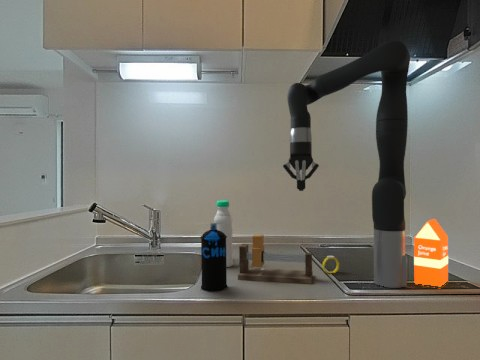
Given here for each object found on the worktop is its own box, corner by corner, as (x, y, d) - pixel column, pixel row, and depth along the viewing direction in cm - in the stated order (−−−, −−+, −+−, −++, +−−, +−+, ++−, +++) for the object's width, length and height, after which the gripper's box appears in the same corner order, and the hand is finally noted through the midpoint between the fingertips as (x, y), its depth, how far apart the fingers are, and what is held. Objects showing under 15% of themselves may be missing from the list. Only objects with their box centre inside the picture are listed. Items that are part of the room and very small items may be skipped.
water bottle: (212, 264, 145) (211, 200, 145) (229, 262, 148) (228, 199, 147) (217, 268, 139) (216, 201, 138) (235, 267, 141) (234, 200, 141)
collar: (264, 263, 130) (264, 234, 130) (261, 267, 124) (260, 236, 124) (255, 262, 131) (255, 233, 131) (252, 267, 125) (251, 236, 125)
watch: (325, 275, 129) (324, 258, 129) (321, 273, 132) (320, 256, 132) (340, 272, 131) (339, 256, 131) (336, 270, 134) (335, 254, 134)
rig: (312, 275, 128) (312, 245, 128) (311, 283, 118) (310, 250, 118) (244, 271, 134) (244, 242, 134) (237, 279, 124) (237, 248, 124)
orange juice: (413, 283, 118) (413, 220, 117) (422, 277, 124) (422, 217, 124) (441, 288, 112) (440, 222, 112) (448, 282, 119) (448, 219, 119)
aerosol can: (201, 283, 120) (200, 221, 119) (227, 283, 120) (226, 221, 120) (200, 291, 111) (199, 225, 111) (227, 291, 112) (227, 224, 112)
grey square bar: (306, 261, 125) (305, 253, 125) (305, 263, 122) (305, 254, 122) (247, 258, 130) (247, 250, 130) (246, 260, 127) (245, 252, 127)
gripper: (320, 141, 133) (320, 190, 134) (283, 143, 137) (283, 190, 137) (319, 140, 126) (319, 191, 126) (280, 141, 129) (280, 191, 130)
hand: (301, 190), depth 132 cm, fingers closed
